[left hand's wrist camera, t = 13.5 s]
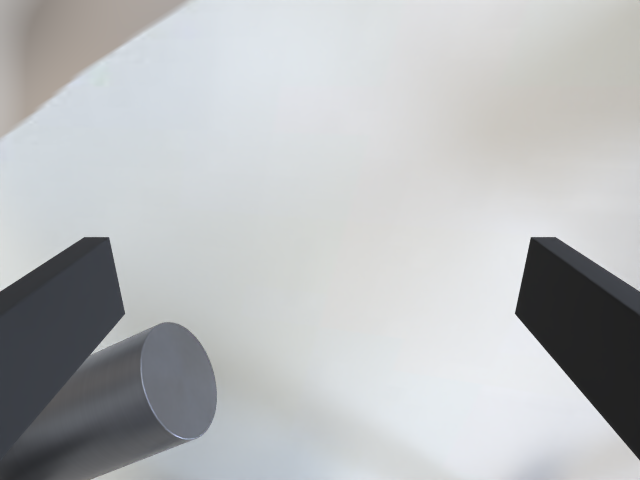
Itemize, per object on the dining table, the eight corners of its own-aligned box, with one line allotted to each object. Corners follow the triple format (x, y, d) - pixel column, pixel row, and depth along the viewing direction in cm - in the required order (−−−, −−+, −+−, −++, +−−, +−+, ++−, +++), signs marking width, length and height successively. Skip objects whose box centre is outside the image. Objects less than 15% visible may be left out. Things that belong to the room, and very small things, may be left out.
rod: (170, 301, 33) (120, 375, 24) (226, 378, 36) (198, 467, 27) (-51, 403, 37) (-157, 495, 28) (16, 464, 40) (-64, 564, 31)
